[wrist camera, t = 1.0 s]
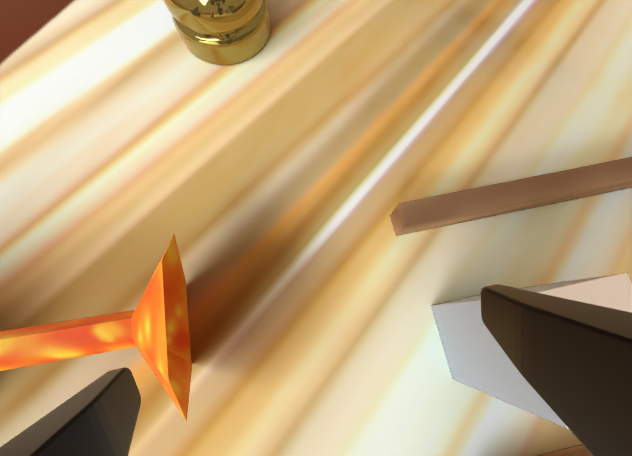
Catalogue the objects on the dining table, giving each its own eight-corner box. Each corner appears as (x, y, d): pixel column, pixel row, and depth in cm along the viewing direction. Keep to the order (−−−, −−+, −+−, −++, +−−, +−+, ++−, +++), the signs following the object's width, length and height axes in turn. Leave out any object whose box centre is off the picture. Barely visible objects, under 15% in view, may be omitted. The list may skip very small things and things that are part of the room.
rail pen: (839, 409, 20) (911, 422, 18) (471, 505, 19) (494, 532, 16) (695, 153, 25) (737, 136, 22) (390, 215, 23) (399, 203, 21)
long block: (513, 364, 21) (687, 404, 11) (452, 378, 20) (575, 432, 11) (489, 292, 22) (627, 272, 12) (430, 305, 22) (525, 295, 12)
